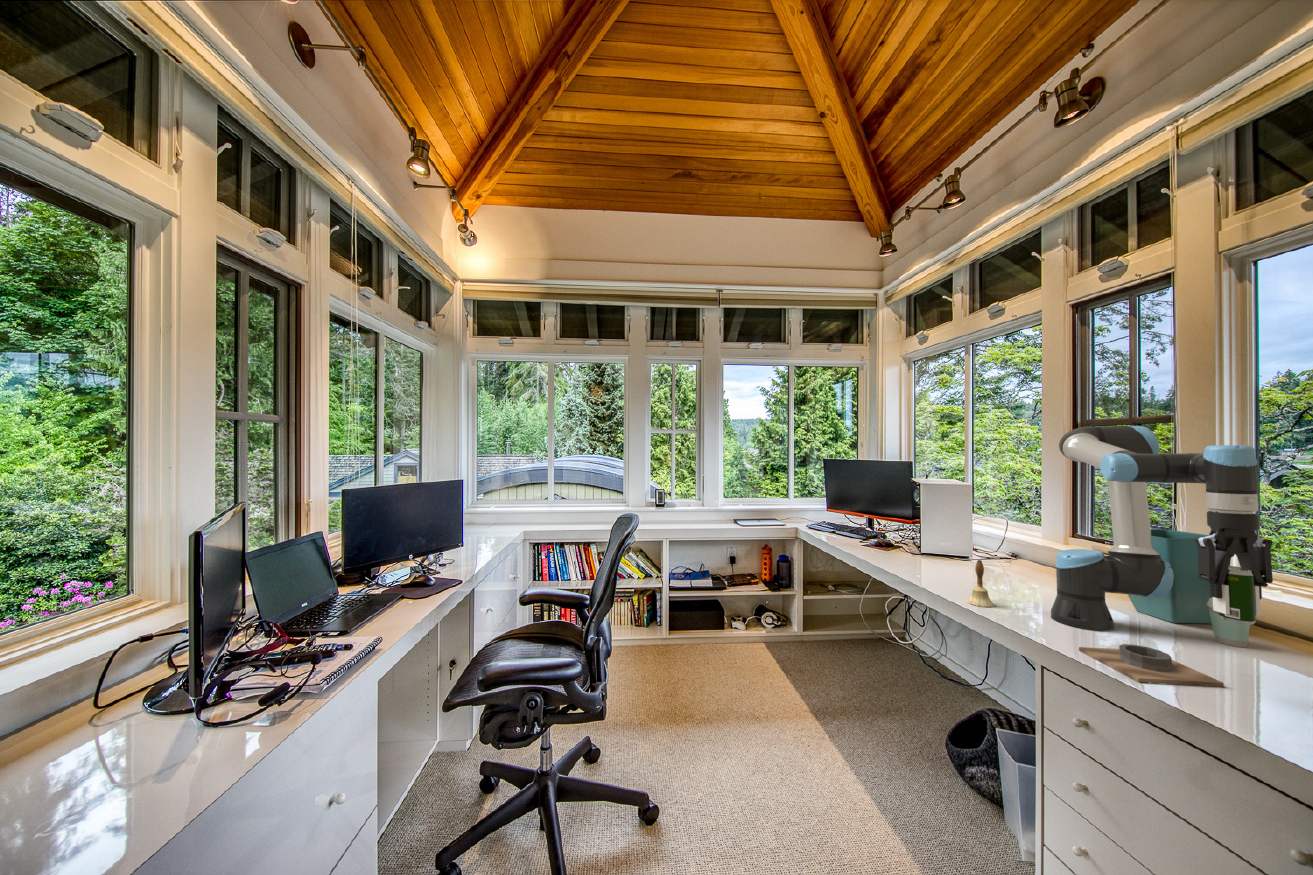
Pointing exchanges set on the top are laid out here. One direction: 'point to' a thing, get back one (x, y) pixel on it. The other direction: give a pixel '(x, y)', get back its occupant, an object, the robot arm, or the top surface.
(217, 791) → the top surface
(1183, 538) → the flower pot
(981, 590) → the hand bell
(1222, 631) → the coffee cup
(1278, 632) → the top surface
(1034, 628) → the top surface
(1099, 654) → the collar holder
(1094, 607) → the robot arm
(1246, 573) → the beer can
